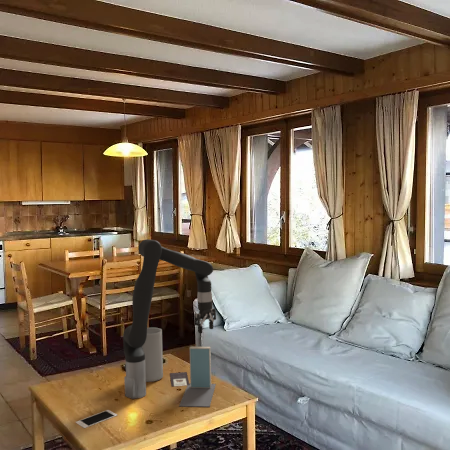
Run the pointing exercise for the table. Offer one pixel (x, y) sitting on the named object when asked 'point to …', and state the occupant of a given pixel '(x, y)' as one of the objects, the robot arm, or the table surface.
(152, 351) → the cylinder vase
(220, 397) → the table surface
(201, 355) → the tile
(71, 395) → the table surface
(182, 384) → the chocolate bar
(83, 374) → the table surface
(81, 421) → the cell phone
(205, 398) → the felt mat
